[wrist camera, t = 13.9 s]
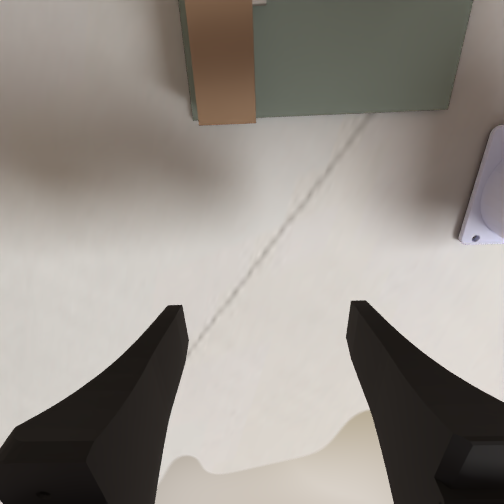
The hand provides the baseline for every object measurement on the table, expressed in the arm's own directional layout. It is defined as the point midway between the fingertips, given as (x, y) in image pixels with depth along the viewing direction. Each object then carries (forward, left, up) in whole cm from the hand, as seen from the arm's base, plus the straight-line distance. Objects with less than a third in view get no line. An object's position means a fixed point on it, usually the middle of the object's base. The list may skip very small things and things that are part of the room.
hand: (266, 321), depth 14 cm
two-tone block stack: (+1, -12, -10) cm, 16 cm away
